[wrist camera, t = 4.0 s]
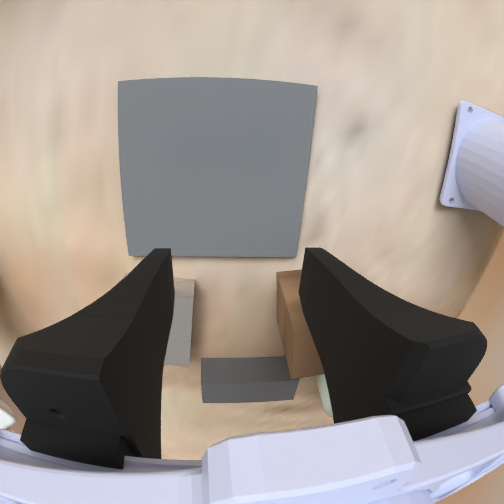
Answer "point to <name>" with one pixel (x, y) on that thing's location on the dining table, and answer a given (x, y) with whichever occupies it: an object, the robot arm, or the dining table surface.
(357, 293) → the robot arm
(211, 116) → the slate coaster
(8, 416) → the square plate
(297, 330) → the walnut block
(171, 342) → the grey topped wooden block
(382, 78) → the dining table surface
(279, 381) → the charcoal rubber bar
